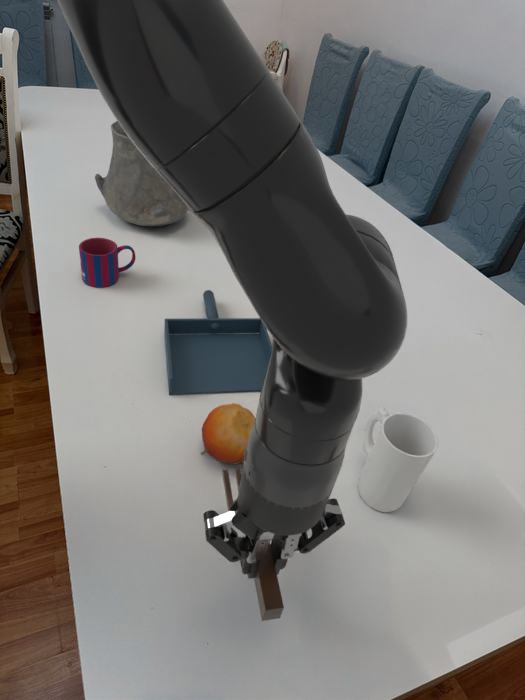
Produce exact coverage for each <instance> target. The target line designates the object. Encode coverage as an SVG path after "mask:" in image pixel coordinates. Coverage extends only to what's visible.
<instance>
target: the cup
mask: <svg viewBox="0 0 525 700" xmlns="http://www.w3.org/2000/svg"><path fill="white" fill-rule="evenodd" d="M124 250H129V251H131V254H132V255H131V259H130V261H129V263H127V264H126V265H124V266H121V267H119V253H121V252H122V251H124ZM78 251H79V261H80V263H79V264H80V272H81V280H82V281H83V283H84V284H86V285H88V286H90V287H93V288H108V287H111V286H113V285H116V283H118V281H119V280H120V273H123V272H126V271H127V270H129V269H131V267H133V266H134V264H135V261H136V251H135V250H134V248H133V247H132V246H131V245H127V244H125V245H120V246H118V244H117V243H116V242H115V241H114V240H112V239H110V238H106V237H90V238H87V239H84V240H82V241H81V242H80V243H79V245H78Z"/></svg>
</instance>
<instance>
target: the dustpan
mask: <svg viewBox="0 0 525 700" xmlns="http://www.w3.org/2000/svg"><path fill="white" fill-rule="evenodd" d="M202 297H203V303H204V308H205V314H206V318H203V317H202V318H201V317H200V318H164V325H163V326H164V327H163V328H164V329H163V330H164V331H163V334H164V349H165V360H166V361H165V362H166V373H167V374H166V375H167V386H168V387H167V389H168V395H169V396H179V395H180V396H181V395H203V394H207V395H208V394H227V393H232V394H233V393H252V392H253V393H254V392H255V393H256V392H261V388H262V384H263V381H264V378H265V375H266V371H267V368H268V364H269V360H270V356H271V351H272V344H273V343H272V341H271V338H270V335H269V331H268V330H267V328H266V327H265V325H264V324H263V322H262V321H261V319H260V317H253V318H252V317H248V318H246V317H239V318H238V317H237V318H234V317H233V318H231V317H230V318H227V317H226V318H225V317H223V318H222V317H221V318H220V317H219V313H218V308H217V303H216V298H215V294H214V292H213V291H212V290H210V289H207V290H205V291H204V292H203V294H202Z"/></svg>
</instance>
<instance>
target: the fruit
mask: <svg viewBox="0 0 525 700" xmlns="http://www.w3.org/2000/svg"><path fill="white" fill-rule="evenodd" d="M255 418H256V416H255V415H254V413H252V411H251V410H250V409H248V408H246V407H243V406H242V405H241V404H240V403H229V404H221V405H218V406H216V407H215V408H213V409H212V410H210V412H209V413H208V415H207V416H206V418H205V419H204V421H203V424H202V427H201V437H202V439H201V440H202V443H203V447H204V450H203V451H201V452H200V455H201V456H202V455H204V454H206V453H207V454H208V455H209V456H210V457H211V458H213V459H215V460H216V461H218V462H221V463H225V464H232V465H236V464H240V463H244V451H245V448H246V446H247V443H248V439H249V434H250V432H251V429H252V426H253V424H254V422H255Z"/></svg>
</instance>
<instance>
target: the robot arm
mask: <svg viewBox="0 0 525 700" xmlns="http://www.w3.org/2000/svg"><path fill="white" fill-rule="evenodd" d="M56 1H57V3H58V7H59V8H60V10H61V12H62V14H63V16H64V19H65V21H66V24H67V26H68V28H69V30H70V32H71V35H72V36H73V39H74V41H75V43H76V45H77V48H78V50H79V52H80V54H81V56H82V58H83V61H84V63H85V65H86V67H87V69H88V71H89V73H90V75H91V78H92V79H93V82H94V83H95V86H96V87H97V89H98V91H99V93H100V94H101V96H102V98H103V100H104V102H105V104H106V106H107V107H108V108H109V110H110V112H111V113H112V115H113V116H114V119H115V120H116V121H118V123H119V124H120V125H121V127H122V128H123V130H124V131H125V133H126V134H127V136H128V137H129V138H130V140H131V141H132V142H133V143H134V145H135V146H136V147H137V149H138V150H139V151H140V152H141V154H142V155H143V156H144V157H145V158H146V160H147V161H148V162H149V163H150V164H151V166H152V167H153V168H155V170H156V171H157V172H158V174H159V175H160V176H161V177H162V178H163V179H164V181H165V182H166V183H167V184H168V185H169V186H170V188H171V189H172V190H173V191H174V192H175V193H176V195H177V196H178V197H179V198H180V199H181V201H182V202H183V203H184V204H185V205H186V206H187V208H188V211H190V212H191V213H192V215H193V216H194V217H195V218H196V219H197V220H198V221H199V222H200V223H201V225H202V226H203V227H204V228H205V229H206V230H207V231H208V232H209V233H210V234H211V235H212V237H213V238H214V240H215V242H216V243H217V245H218V246H219V248H220V250H221V252H222V254H223V256H224V258H225V259H226V261H227V264H228V265H229V268H230V269H231V271H232V274H233V275H234V277H235V278H236V280H237V282H238V284H239V286H240V287H241V288H242V290H243V292H244V294H245V295H246V297H247V299H248V300H249V302H250V304H251V306H252V307H253V309H254V311H255V312H256V314H257V316H258V318H260V319H261V321H262V322H263V324H264V325H265V327H266V328H267V332H268V334H270V336H271V337H272V343H271V344H272V351H271V356H270V360H269V364H268V368H267V371H266V375H265V378H264V381H263V384H262V388H261V391H260V394H259V400H258V403H257V408H256V415H255V422H254V424H253V426H252V429H251V432H250V434H249V439H248V443H247V446H246V448H245V451H244V461H243V465H242V471H241V481H240V486H239V492H238V491H237V492H238V494H237V498H236V499H235V500H233V503H232V504H231V506H230V511H229V512H228V511H227V512H224V513H221V514H219V513H218V511H216V510H215V509H211V510H210V509H209V510H206V511H205V512H204V513H203V514H202V515H203V516H202V517H203V524H204V533H205V534H204V535H205V541H206V543H208V544H209V545H210V546H211V547H213V548H214V549H215V550H216V551H217V552H218V553H219V554H220V555H222V556H223V557H224V558H225V559H226V560H227V561H228V562H230V563H237V562H240V567H241V573H242V574H243V575H247V578H248V580H250V579H254V578H255V576H256V573H257V569H258V567H259V564H260V557H261V554H263V553H265V552H266V550H267V547H268V545H269V542H270V547H271V552H272V557H273V561H274V566H275V568H276V573H277V576H279V574H280V571H281V570H284V569H285V568H286V566H287V563H288V560H289V559H291V558H292V557H293V555H294V552H297V551H298V552H299V553H300V554H304V555H305V554H308V553H310V552H312V551H313V550H315V548H317V547H318V546H320V545H321V544H322V543H323V542H325V541H326V540H327V539H328V538H330V537H332V536H333V535H334V534H335V533H337V532H338V531H340V530H341V529H342V528H343V527H344V526H345V525H346V521H345V518H344V515H343V512H342V510H341V506H340V504H339V501H338V499H337V498H334V497H333V498H330V497H331V495H332V492H333V490H334V487H335V484H336V482H337V479H338V477H339V474H340V472H341V471H342V467H343V463H344V458H345V452H346V448H347V444H348V441H349V438H350V435H351V433H352V431H353V427H354V426H355V423H356V421H357V419H358V415H359V412H360V410H361V405H362V400H363V379H366V378H367V377H370V376H372V375H374V374H377V373H379V372H380V371H381V370H383V369H384V368H386V366H388V365H389V364H390V363H391V362H392V361H393V360H394V358H395V357H396V356H397V354H398V353H399V351H400V349H401V348H402V345H403V343H404V341H405V337H406V334H407V328H408V308H407V302H406V298H405V293H404V291H403V287H402V283H401V280H400V277H399V273H398V270H397V266H396V261H395V258H394V254H393V252H392V249H391V247H390V245H389V243H388V241H387V240H386V238H385V237H384V235H383V234H382V233H381V232H380V230H379V229H377V228H376V226H374V225H373V224H372V223H371V222H369V221H367V220H365V219H363V218H361V217H359V216H356V215H353V214H346V213H345V211H344V209H343V208H342V207H341V205H340V204H339V203H340V202H338V200H337V199H336V196H335V195H334V192H333V190H332V188H331V185H330V183H329V180H328V176H327V173H326V169H325V165H324V163H323V159H322V156H321V154H320V152H319V150H318V148H317V146H316V144H315V142H314V139H313V138H312V136H311V134H310V133H309V130H308V129H307V128H306V126H305V125H304V123H303V121H302V120H301V119H300V116H299V115H298V113H297V112H296V110H295V109H294V107H293V105H292V104H291V102H290V101H289V99H288V98H287V96H286V94H285V93H284V92H283V90H282V88H281V87H280V85H279V84H278V82H277V81H276V79H275V78H274V76H273V74H272V72H271V71H270V70H269V69H268V66H267V64H265V62H264V60H263V59H262V58H261V56H260V55H259V53H258V52H257V51H256V49H255V47H254V46H253V44H252V43H251V41H250V40H249V37H247V35H246V33H245V32H244V30H243V29H242V27H241V26H240V25H239V23H238V21H237V20H236V18H235V16H234V15H233V13H232V12H231V10H230V9H229V7H228V6H227V4H226V3H225V1H224V0H56ZM233 527H235V528H236V529H237V530H239V531H240V532H241V533H242V534H243V536H239V534H238V532H237V531H236V530H235V529H234V528H233ZM309 530H310V531H311V536H309V535H308V531H309Z"/></svg>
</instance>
